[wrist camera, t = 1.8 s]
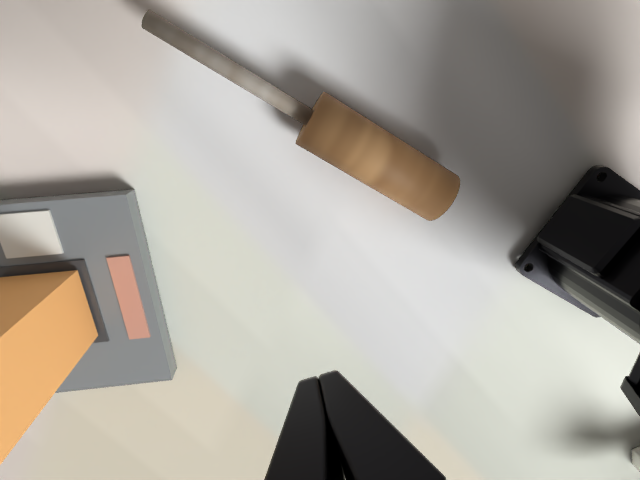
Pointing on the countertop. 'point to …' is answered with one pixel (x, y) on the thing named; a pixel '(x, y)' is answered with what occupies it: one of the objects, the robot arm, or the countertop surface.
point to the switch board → (96, 279)
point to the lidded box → (38, 344)
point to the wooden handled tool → (335, 133)
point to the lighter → (636, 457)
